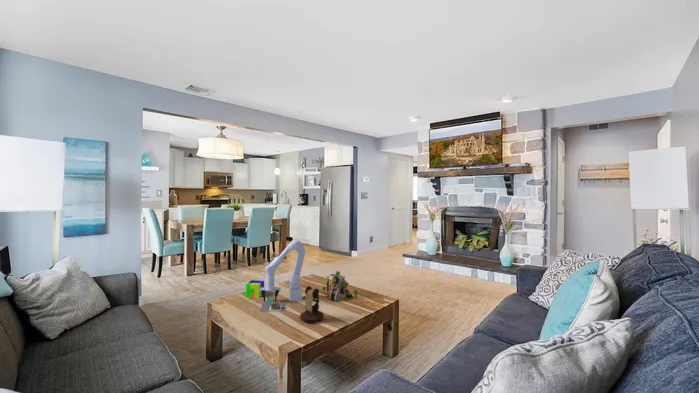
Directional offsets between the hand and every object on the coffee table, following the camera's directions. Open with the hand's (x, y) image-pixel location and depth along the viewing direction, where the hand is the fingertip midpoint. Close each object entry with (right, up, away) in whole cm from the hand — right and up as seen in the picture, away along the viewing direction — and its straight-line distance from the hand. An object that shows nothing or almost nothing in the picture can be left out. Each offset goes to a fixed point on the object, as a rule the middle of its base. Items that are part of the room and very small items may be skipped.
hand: (270, 300), depth 217 cm
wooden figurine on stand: (+33, -3, -25) cm, 42 cm away
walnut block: (+7, -1, -11) cm, 13 cm away
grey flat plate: (+4, -2, -9) cm, 11 cm away
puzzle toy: (-15, -1, +15) cm, 21 cm away
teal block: (0, -2, 0) cm, 2 cm away
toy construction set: (+46, -2, +17) cm, 50 cm away
